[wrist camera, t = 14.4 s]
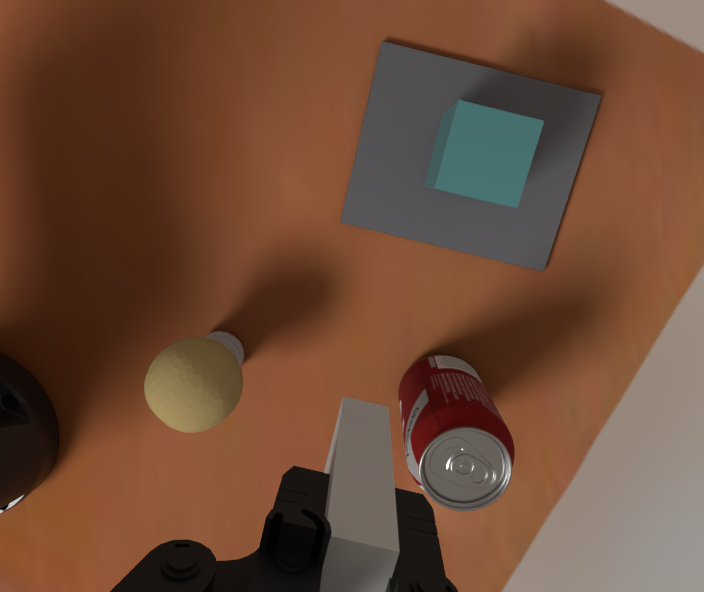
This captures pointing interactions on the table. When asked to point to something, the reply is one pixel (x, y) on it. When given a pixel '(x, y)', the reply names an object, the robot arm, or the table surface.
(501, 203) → the teal block
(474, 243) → the grey square base plate
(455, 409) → the soda can
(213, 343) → the light bulb
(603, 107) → the table surface
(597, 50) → the table surface
